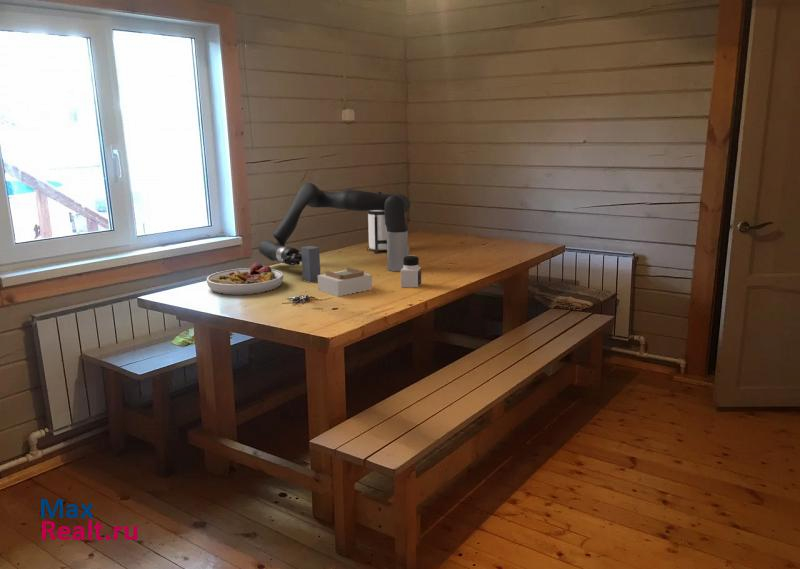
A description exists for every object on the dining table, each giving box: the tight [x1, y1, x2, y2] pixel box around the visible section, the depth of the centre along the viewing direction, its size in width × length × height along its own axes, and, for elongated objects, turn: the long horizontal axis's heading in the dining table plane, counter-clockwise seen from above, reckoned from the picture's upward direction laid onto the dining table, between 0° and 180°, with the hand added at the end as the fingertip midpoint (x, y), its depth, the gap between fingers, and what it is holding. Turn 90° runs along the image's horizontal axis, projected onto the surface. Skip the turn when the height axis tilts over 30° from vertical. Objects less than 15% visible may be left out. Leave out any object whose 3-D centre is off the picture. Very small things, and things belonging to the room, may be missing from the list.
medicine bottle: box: [400, 254, 422, 288], centre depth 268 cm, size 7×7×12 cm
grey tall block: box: [300, 245, 321, 283], centre depth 279 cm, size 5×6×14 cm
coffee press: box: [366, 191, 387, 254], centre depth 337 cm, size 17×16×30 cm
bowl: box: [206, 262, 284, 296], centre depth 270 cm, size 30×30×8 cm
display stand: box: [317, 266, 373, 298], centre depth 263 cm, size 16×14×8 cm
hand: (307, 260), depth 281 cm, fingers open, 8 cm apart
